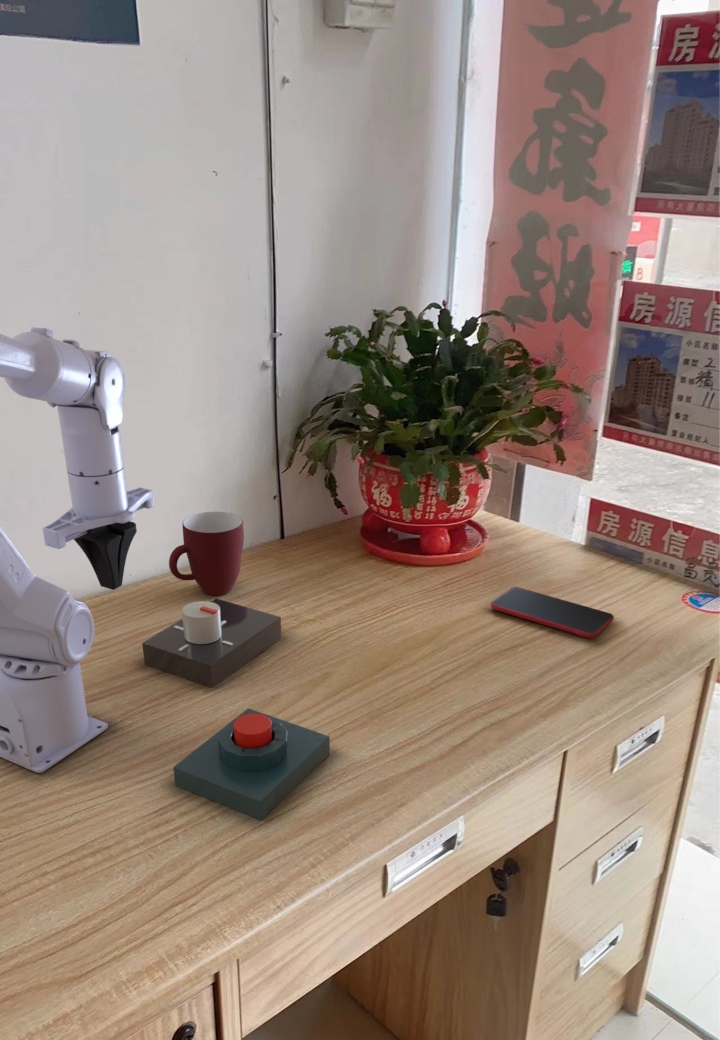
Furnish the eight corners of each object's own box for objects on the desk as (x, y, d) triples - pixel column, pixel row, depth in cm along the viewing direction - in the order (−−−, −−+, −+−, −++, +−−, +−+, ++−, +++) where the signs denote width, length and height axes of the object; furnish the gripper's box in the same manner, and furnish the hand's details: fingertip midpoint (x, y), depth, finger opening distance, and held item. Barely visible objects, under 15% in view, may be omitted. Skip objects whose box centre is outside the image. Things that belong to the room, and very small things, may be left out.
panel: (212, 687, 100) (210, 663, 98) (144, 664, 104) (141, 641, 102) (281, 638, 111) (280, 615, 109) (217, 619, 115) (216, 597, 113)
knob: (176, 638, 104) (173, 609, 102) (200, 623, 107) (198, 595, 105) (206, 647, 102) (204, 618, 100) (229, 632, 105) (227, 604, 103)
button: (257, 753, 83) (257, 738, 82) (226, 742, 84) (225, 727, 83) (279, 735, 85) (278, 720, 85) (249, 724, 87) (248, 709, 86)
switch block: (261, 820, 80) (259, 785, 78) (174, 785, 84) (171, 751, 82) (329, 754, 89) (330, 721, 87) (248, 725, 93) (247, 693, 91)
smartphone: (513, 585, 124) (616, 614, 116) (513, 591, 124) (615, 620, 116) (488, 603, 118) (594, 635, 111) (487, 609, 119) (593, 641, 111)
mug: (192, 612, 116) (186, 542, 111) (160, 592, 122) (154, 524, 117) (257, 591, 122) (255, 523, 118) (225, 573, 128) (221, 507, 123)
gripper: (71, 495, 85) (90, 620, 91) (170, 456, 96) (181, 570, 103) (20, 482, 88) (41, 604, 94) (121, 446, 99) (134, 557, 105)
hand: (111, 585), depth 99 cm, fingers closed
